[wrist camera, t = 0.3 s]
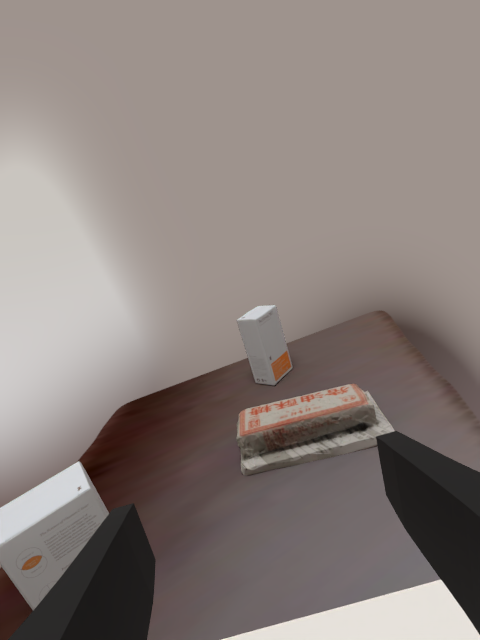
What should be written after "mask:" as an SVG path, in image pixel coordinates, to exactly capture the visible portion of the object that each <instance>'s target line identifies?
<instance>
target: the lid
mask: <svg viewBox="0 0 480 640" xmlns="http://www.w3.org/2000/svg"><path fill="white" fill-rule="evenodd" d="M222 640H480V635H479V633H478V632H477V630H476V629H475V627H474V626H473V624H472V623H471V621H470V620H469V618H468V617H467V615H466V614H465V612H464V611H463V609H462V608H461V606H460V605H459V604H458V602H457V601H456V600H455V598H454V597H453V595H452V594H451V593H450V591H449V590H448V588H447V587H446V586H445V584H444V583H443V581H442V580H438V581H434V582H431V583H427V584H423V585H420V586H416V587H412V588H409V589H405V590H401V591H398V592H394V593H390V594H387V595H383V596H379V597H376V598H372V599H368V600H365V601H361V602H357V603H354V604H350V605H346V606H343V607H339V608H335V609H332V610H328V611H324V612H321V613H317V614H313V615H310V616H306V617H302V618H299V619H295V620H291V621H288V622H284V623H280V624H277V625H273V626H269V627H266V628H262V629H258V630H255V631H251V632H247V633H244V634H240V635H236V636H233V637H229V638H225V639H222Z"/></svg>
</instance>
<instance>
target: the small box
mask: <svg viewBox="0 0 480 640" xmlns="http://www.w3.org/2000/svg"><path fill="white" fill-rule="evenodd" d="M108 514H109V512H108V511H107V509H106V507H105V505H104V503H103V502H102V500H101V498H100V496H99V494H98V493H97V491H96V489H95V487H94V485H93V484H92V482H91V480H90V478H89V476H88V474H87V473H86V471H85V469H84V467H83V466H82V464H81V463H80V462H79V461H78V462H77V463H75V464H74V465H72V466H71V467H69V468H67V469H65V470H64V471H62V472H60V473H59V474H57V475H55V476H53V477H52V478H50V479H48V480H47V481H45V482H44V483H42V484H40V485H38V486H37V487H35V488H33V489H31V490H30V491H28V492H27V493H25V494H23V495H21V496H20V497H18V498H16V499H15V500H13V501H11V502H10V503H8V504H6V505H5V506H3V507H1V508H0V565H1V566H2V567H3V569H4V570H5V572H6V573H7V574H8V576H9V577H10V579H11V580H12V582H13V583H14V584H15V586H16V587H17V589H18V590H19V592H20V593H21V594H22V596H23V597H24V599H25V600H26V601H27V603H28V604H29V606H30V607H31V608H32V610H34V609H35V608H36V607H37V606H38V604H39V603H40V602H41V601H42V599H43V598H44V597H45V596H46V595H47V593H48V592H49V591H50V590H51V588H52V587H53V586H54V585H55V584H56V582H57V581H58V580H59V579H60V577H61V576H62V575H63V574H64V572H65V571H66V570H67V568H68V567H69V566H70V564H71V563H72V562H73V561H74V559H75V558H76V557H77V555H78V554H79V553H80V551H81V550H82V549H83V547H84V546H85V545H86V543H87V542H88V541H89V539H90V538H91V537H92V535H93V534H94V533H95V531H96V530H97V529H98V527H99V526H100V525H101V523H102V522H103V521H104V520H105V518H106V517H107V516H108Z"/></svg>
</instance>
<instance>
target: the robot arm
mask: <svg viewBox="0 0 480 640" xmlns="http://www.w3.org/2000/svg"><path fill="white" fill-rule="evenodd" d="M376 440H377V446H378V451H379V457H380V463H381V468H382V474H383V479H384V485H385V491H386V495H387V497H388V499H389V501H390V503H391V504H392V506H393V508H394V510H395V512H396V514H397V515H398V517H399V519H400V521H401V522H402V524H403V526H404V528H405V529H406V531H407V532H408V534H409V535H410V536H411V538H412V539H413V541H414V542H415V544H416V545H417V546H418V548H419V549H420V551H421V552H422V553H423V555H424V556H425V558H426V559H427V560H428V562H429V563H430V565H431V566H432V567H433V569H434V570H435V572H436V573H437V574H438V576H439V577H440V579H441V580H442V581H443V583H444V584H445V586H446V587H447V588H448V590H449V591H450V593H451V594H452V595H453V597H454V598H455V600H456V601H457V602H458V604H459V605H460V606H461V608H462V609H463V611H464V612H465V614H466V615H467V617H468V618H469V620H470V621H471V623H472V624H473V626H474V627H475V629H476V630H477V632H478V633H479V635H480V472H478V471H475V470H473V469H471V468H469V467H467V466H465V465H463V464H460V463H458V462H456V461H454V460H452V459H450V458H448V457H446V456H444V455H442V454H440V453H438V452H436V451H434V450H432V449H431V448H429V447H427V446H425V445H423V444H421V443H419V442H417V441H415V440H413V439H411V438H409V437H407V436H405V435H403V434H402V433H399V432H397V431H394V432H390V433H387V434H383V435H379V436H376ZM154 580H155V557H154V555H153V552H152V549H151V547H150V544H149V542H148V539H147V536H146V534H145V531H144V529H143V526H142V523H141V521H140V518H139V516H138V513H137V511H136V508H135V505H134V503H133V504H129V505H126V506H122V507H119V508H115V509H113V510H112V511H111V512H110V513H109V514H108V516H107V517H106V518H105V520H104V521H103V522H102V523H101V525H100V526H99V527H98V529H97V530H96V531H95V533H94V534H93V535H92V537H91V538H90V539H89V541H88V542H87V543H86V545H85V546H84V547H83V549H82V550H81V551H80V553H79V554H78V555H77V557H76V558H75V559H74V561H73V562H72V563H71V564H70V566H69V567H68V568H67V570H66V571H65V572H64V574H63V575H62V576H61V577H60V579H59V580H58V581H57V582H56V584H55V585H54V586H53V587H52V588H51V590H50V591H49V592H48V593H47V595H46V596H45V597H44V598H43V599H42V601H41V602H40V603H39V604H38V606H37V607H36V608H35V609H34V610H33V612H32V613H31V614H30V615H29V617H28V618H27V619H26V620H25V621H24V622H23V623H22V625H21V626H20V627H19V628H18V629H17V630H16V631H15V633H14V634H13V635H12V636H11V637H10V638H9V639H8V640H147V635H148V629H149V623H150V617H151V611H152V604H153V595H154Z"/></svg>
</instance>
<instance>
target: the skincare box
mask: <svg viewBox="0 0 480 640" xmlns="http://www.w3.org/2000/svg"><path fill="white" fill-rule="evenodd" d="M237 323H238V327H239V330H240V333H241V336H242V340H243V343H244V346H245V349H246V353H247V356H248V359H249V362H250V366H251V369H252V372H253V376H254V379H255V382H256V383H259V384H267V385H276V383H277V382H278V381H280V380H281V379H282V378H283V377H284V376H285V375H286V374H287V373H288V372H289V371H290V370H291V369H292V368H293V367H292V363H291V360H290V356H289V352H288V348H287V345H286V341H285V337H284V334H283V330H282V326H281V322H280V319H279V315H278V311H277V307H276V305H275V306H257V307H256V308H254V309H253V310H251V311H249V312H248V313H246V314H245V315H244V316H242V317H241V318H239V319H238V320H237Z"/></svg>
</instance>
